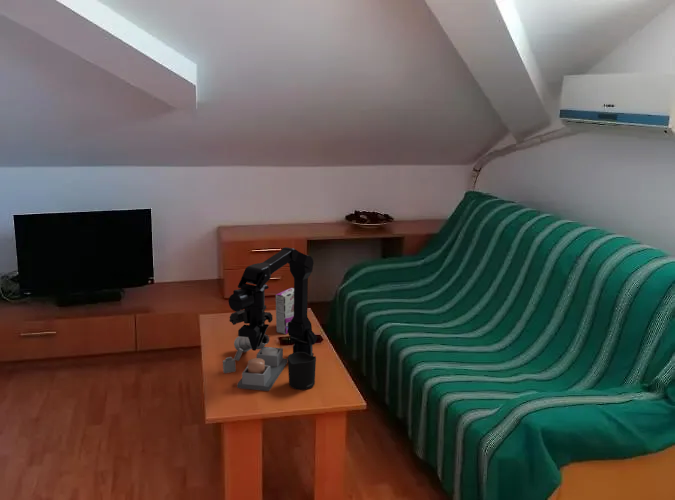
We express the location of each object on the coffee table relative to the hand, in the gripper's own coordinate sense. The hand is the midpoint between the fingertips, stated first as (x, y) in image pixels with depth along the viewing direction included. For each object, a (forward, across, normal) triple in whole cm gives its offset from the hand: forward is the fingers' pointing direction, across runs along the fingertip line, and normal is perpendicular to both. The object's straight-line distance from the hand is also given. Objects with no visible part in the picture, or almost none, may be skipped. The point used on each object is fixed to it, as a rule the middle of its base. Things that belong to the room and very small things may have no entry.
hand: (255, 348), depth 228 cm
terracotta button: (+8, +1, 0) cm, 8 cm away
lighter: (+13, -8, -11) cm, 19 cm away
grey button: (+10, -15, 0) cm, 19 cm away
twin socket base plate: (+12, -7, 0) cm, 14 cm away
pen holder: (+13, -2, +15) cm, 20 cm away
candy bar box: (+12, -52, -3) cm, 54 cm away
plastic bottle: (+10, -26, -15) cm, 32 cm away
